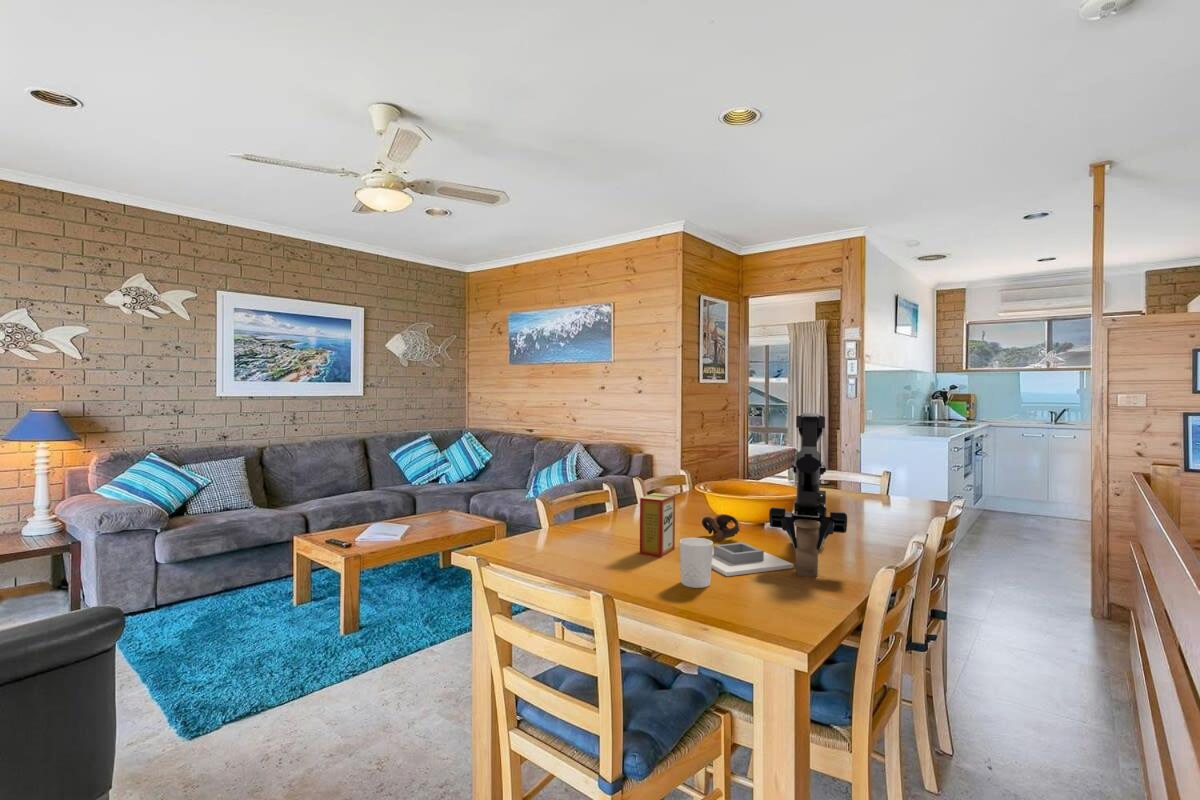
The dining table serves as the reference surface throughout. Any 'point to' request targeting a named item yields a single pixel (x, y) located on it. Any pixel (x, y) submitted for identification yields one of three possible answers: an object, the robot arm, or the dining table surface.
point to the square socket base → (744, 560)
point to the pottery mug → (720, 526)
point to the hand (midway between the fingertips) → (806, 548)
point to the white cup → (695, 561)
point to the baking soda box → (657, 524)
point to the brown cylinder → (807, 547)
